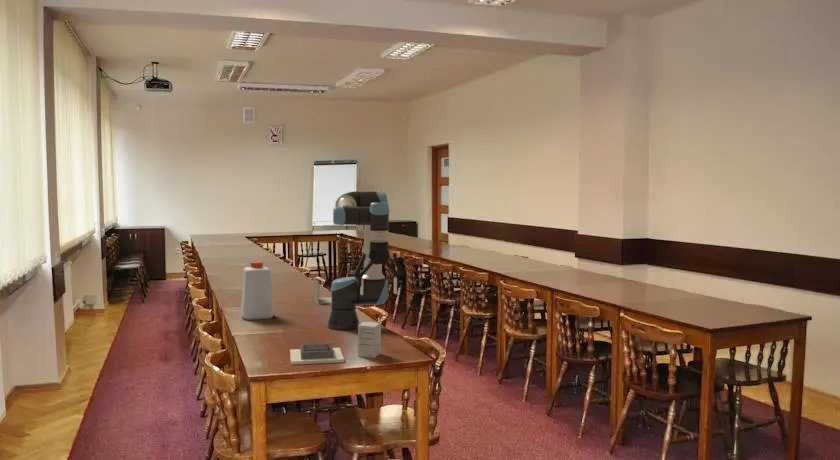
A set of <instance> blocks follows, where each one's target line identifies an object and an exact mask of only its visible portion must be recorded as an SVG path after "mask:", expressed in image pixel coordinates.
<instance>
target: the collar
mask: <svg viewBox="0 0 840 460" xmlns="http://www.w3.org/2000/svg"><path fill="white" fill-rule="evenodd" d="M333 348H334V347H333V346H332V343H314V344H313V343H312V344H307V343H306V344H299V349H300V355H301V359H316V358H334V351H333ZM304 351H311V352H304Z"/></svg>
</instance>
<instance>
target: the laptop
mask: <svg viewBox="0 0 840 460" xmlns="http://www.w3.org/2000/svg"><path fill="white" fill-rule="evenodd" d="M312 298H313V299H312V300H313V301H315V303H317V304H318V305H325V304H326V305H327V304H329V305H331V299H332V296H329V297H327V296H326V297H320V281H319V280H317V279H316V278H315V277H312Z"/></svg>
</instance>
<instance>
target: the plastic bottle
mask: <svg viewBox="0 0 840 460" xmlns="http://www.w3.org/2000/svg"><path fill="white" fill-rule="evenodd" d="M242 271H243V273H242V283H241V284H242V287H241V288H242V289H241V301H240V316H241V317H242V318H243V319H244V320H245V321H246V320H247V321H249V320H250V321H256V320H257V321H258V320H268V319H272V318H273V316H274V306H273V305H274V304H273V292H272V290H273V289H272V278H271V277H272V276H271V275H272V274H271V270H270V268H268V267H267V266H264V263H263V262H262V261H251V262H250V266H248V267H247V266H245V267H244V268H243V270H242Z"/></svg>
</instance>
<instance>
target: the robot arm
mask: <svg viewBox="0 0 840 460" xmlns="http://www.w3.org/2000/svg"><path fill="white" fill-rule="evenodd" d="M334 204H335V206H334V207H333V209H332V210H333V211H332V212H333V213H332V215H333V216H332V223H333V224H334V225H335V226H336V225H338V226H363V227H364V229H363V230H364V232H363V235H364V236H363V237H364V238H363V246H364V247H363V253H361V258H360V260H359V262H358V264H357V266H356V268H355V270H354V272H353V273H352V275H353V276H346V277H340V278H336V279H334V280H333V281H332V282H331V289H330V292H331V297H332V299H331V304H330V307H331V309H330V313H329V317H328V320H327V328H328V329H332V330H342V331H343V330H345V331H346V330H347V331H348V330H354V329H358V325H360V320H359V316H358V313H357V307H356V306H358V305H360V306H361V305H362V306H363V305H368V306H369V305H372V306H373V305H374V306H376V305H378V306H379V305H383V304H385V302H386V299H387V297H388V288H389V287H388V285H389V281H388V280H387V279H386V277H385V275H384V274H383V271H382V270H383V265H385V266H387V267H388V269H389V270H390V271H391V272H392V273H393V274H394V277H393V294H395V295H397V294H398V286H400V283H401V282H400V278H401V277H404V276H405V272H404V271H403V269H402V267H401V264H400V263H399V261H398V259H397V258H398V257H397V253H395V252H393V253H389V252H390V251H389V246H390V245H389V243H390V242H388V241H389V237H390V236H389V235H390V234H389V226H390V223H389V221H390V220H389V219H390V207H389V200H388V196H387V193H385V192H384V191H377V190H376V191H355V190H354V191H349V192H346V193H343V194H341V195H339V197H338V198H337V199H336V201H335V203H334ZM389 258H390V259H392V260H393V263H394V264H395V267H396V269H397V270H396V269H395V268H394V267H393V266H392V265H391V263H390V262H389V261H388V260H389ZM362 267H363V269H362ZM361 269H362V270H361ZM360 270H361V271H360ZM397 271H398V272H397Z"/></svg>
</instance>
